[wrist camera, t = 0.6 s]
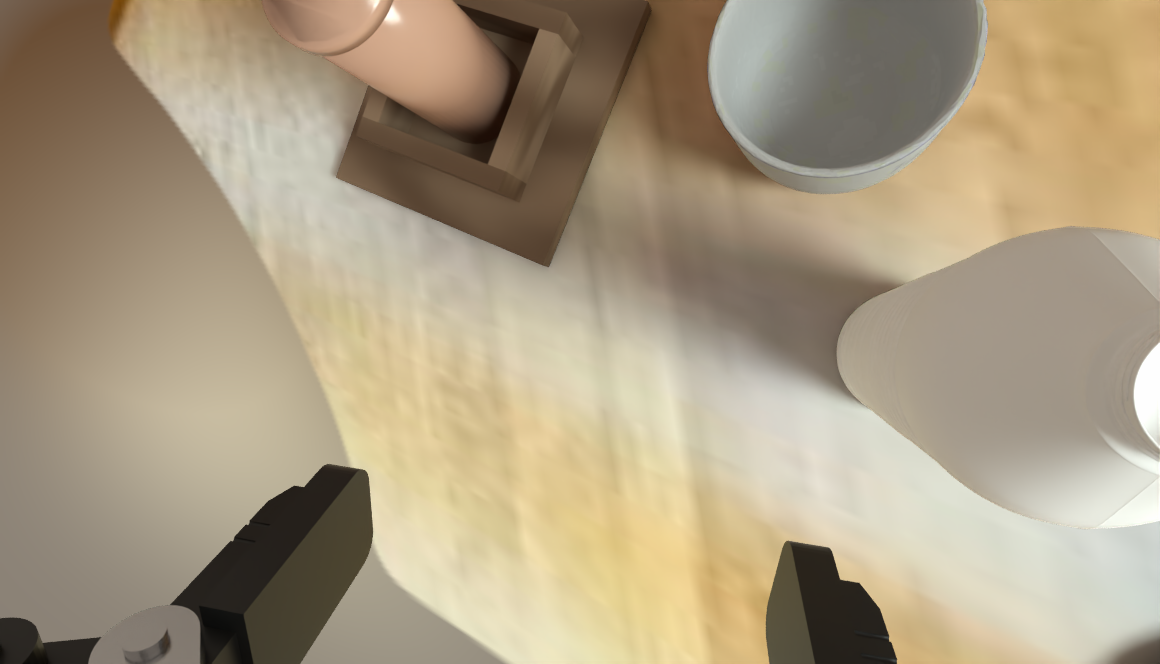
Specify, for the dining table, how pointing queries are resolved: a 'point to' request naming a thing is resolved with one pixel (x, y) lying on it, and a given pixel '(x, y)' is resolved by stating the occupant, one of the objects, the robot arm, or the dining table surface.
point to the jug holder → (509, 126)
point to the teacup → (841, 83)
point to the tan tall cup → (410, 57)
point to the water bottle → (1027, 373)
